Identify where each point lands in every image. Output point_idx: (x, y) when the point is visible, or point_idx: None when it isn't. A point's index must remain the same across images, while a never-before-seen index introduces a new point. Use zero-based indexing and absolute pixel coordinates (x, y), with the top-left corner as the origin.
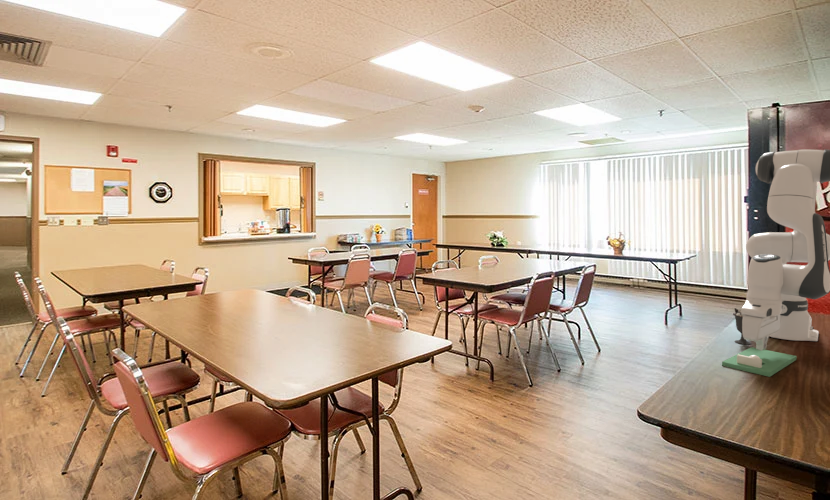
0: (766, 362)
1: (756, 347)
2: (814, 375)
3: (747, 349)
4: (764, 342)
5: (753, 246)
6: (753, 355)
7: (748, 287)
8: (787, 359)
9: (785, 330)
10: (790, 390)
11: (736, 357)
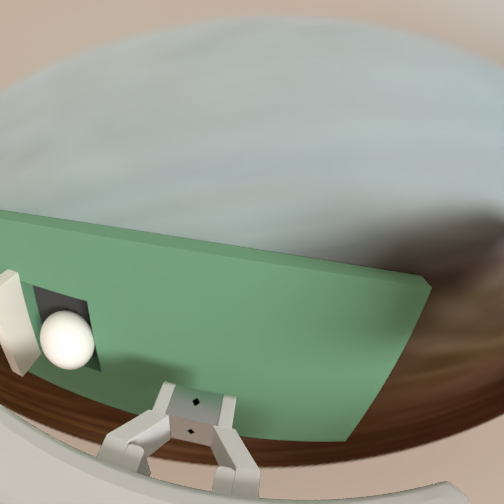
0: (118, 376)
1: (162, 388)
2: (164, 451)
3: (349, 279)
4: (213, 448)
5: None
6: (46, 353)
7: None
8: (253, 432)
9: None
10: (2, 380)
11: (70, 253)
